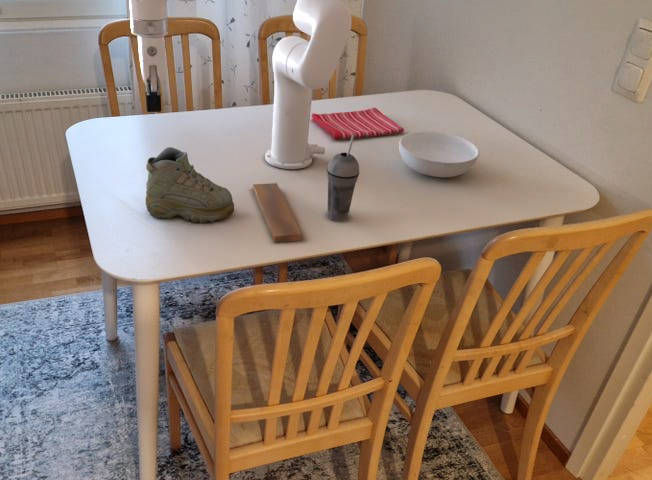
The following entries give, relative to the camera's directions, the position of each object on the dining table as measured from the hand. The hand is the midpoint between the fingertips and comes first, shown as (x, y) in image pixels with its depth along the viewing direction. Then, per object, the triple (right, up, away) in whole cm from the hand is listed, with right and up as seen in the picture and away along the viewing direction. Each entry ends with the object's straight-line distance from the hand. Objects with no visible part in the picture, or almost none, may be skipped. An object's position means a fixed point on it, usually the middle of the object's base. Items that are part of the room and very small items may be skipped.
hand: (153, 110), depth 142 cm
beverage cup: (+42, -24, +4) cm, 48 cm away
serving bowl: (+69, -9, +29) cm, 76 cm away
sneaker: (+8, -23, +1) cm, 24 cm away
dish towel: (+51, +7, +50) cm, 71 cm away
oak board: (+27, -23, +3) cm, 36 cm away
